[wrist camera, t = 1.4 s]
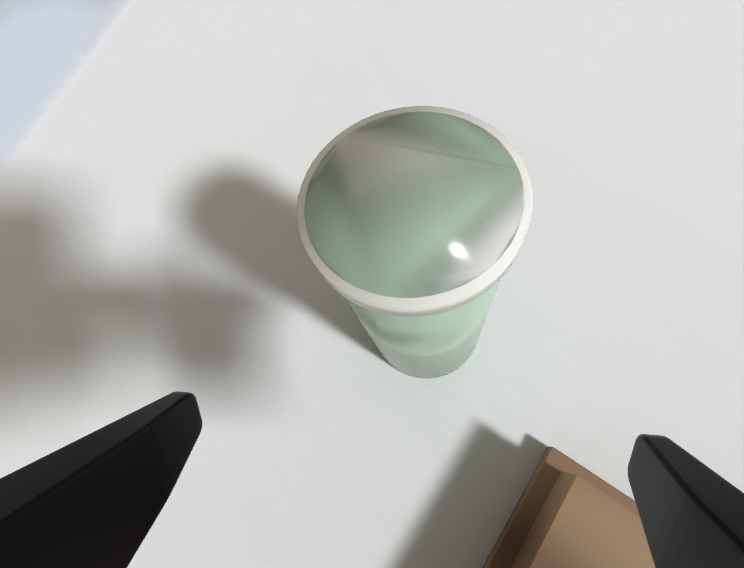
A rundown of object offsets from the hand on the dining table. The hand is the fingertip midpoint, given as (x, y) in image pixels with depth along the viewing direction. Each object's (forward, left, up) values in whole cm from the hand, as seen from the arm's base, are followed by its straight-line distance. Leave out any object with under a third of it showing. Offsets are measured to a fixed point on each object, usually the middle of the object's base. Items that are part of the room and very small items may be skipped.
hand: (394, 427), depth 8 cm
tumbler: (+5, +3, -12) cm, 13 cm away
